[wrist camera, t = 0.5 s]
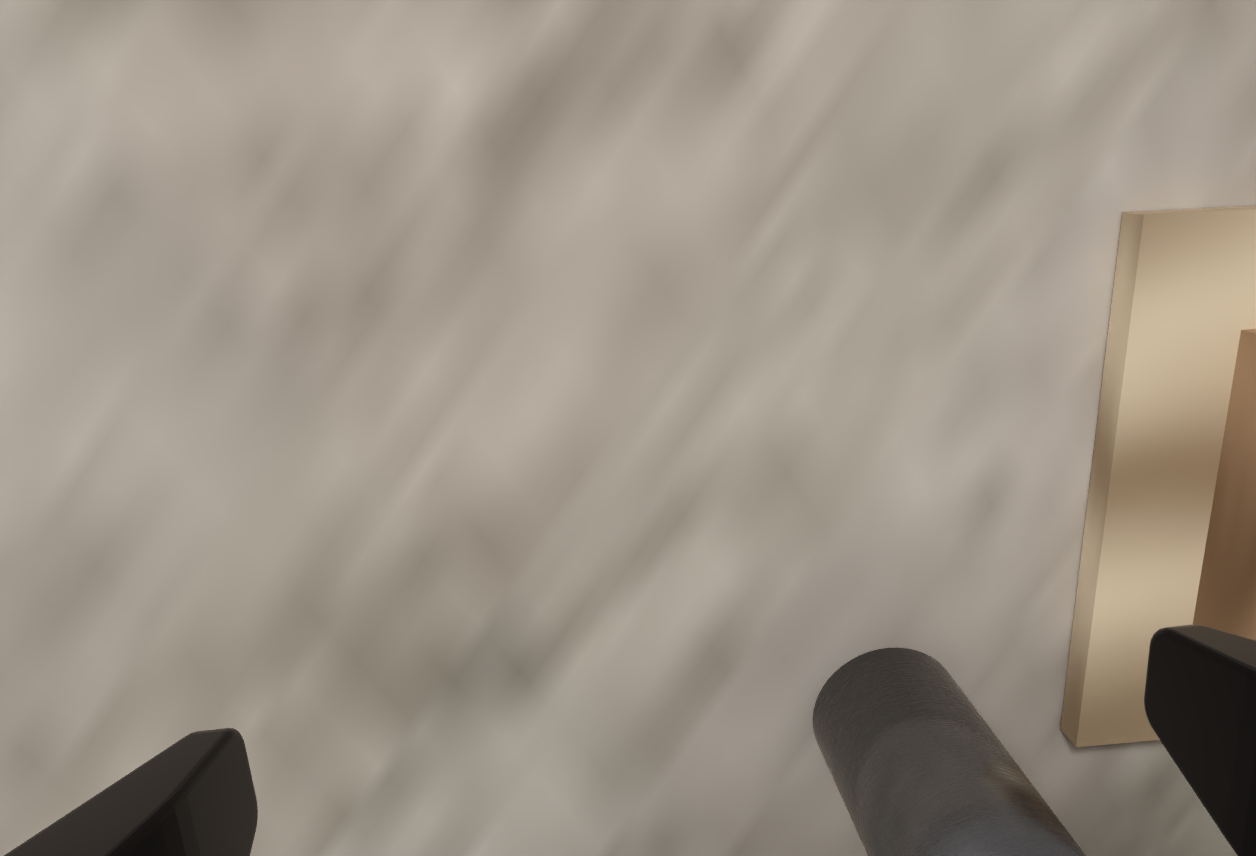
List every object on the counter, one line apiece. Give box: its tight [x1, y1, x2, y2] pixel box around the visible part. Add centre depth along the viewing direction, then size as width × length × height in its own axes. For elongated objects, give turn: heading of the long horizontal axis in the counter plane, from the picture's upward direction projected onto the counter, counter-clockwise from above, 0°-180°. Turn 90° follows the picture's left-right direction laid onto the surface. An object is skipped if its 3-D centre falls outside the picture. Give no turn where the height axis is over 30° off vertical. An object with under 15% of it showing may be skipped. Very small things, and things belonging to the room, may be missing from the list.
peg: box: [813, 648, 1086, 856], centre depth 21 cm, size 4×4×9 cm
